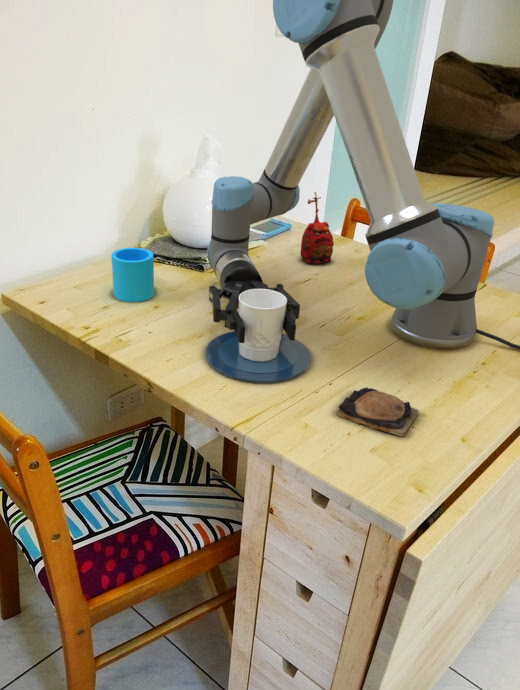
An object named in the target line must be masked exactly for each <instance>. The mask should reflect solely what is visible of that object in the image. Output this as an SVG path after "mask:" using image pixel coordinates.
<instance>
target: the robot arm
mask: <svg viewBox="0 0 520 690" xmlns="http://www.w3.org/2000/svg"><path fill="white" fill-rule="evenodd" d="M393 5H394V0H272V13H273V18H274V22H275V25H276V26H277V28H278V31H279V32H280V34H282V36H284V37H285V38H286V39H288V40H289V41H291V42H293V43H295V44H298V46H299V49H300V53H301V55H302V58H303V60H304V63H305V66H306V67H307V68H310V69H309V71H308V73H307V75H306V77H305V80H304V82H303V84H302V87H301V88H300V90H299V93H298V95H297V97H296V99H295V101H294V104H293V106H292V108H291V110H290V113H289V114H288V117H287V119H286V121H285V123H284V126H283V128H282V130H281V133H280V135H279V137H278V139H277V141H276V143H275V145H274V148H273V150H272V153H271V154H270V156H269V159H268V161H267V163H266V165H265V167H264V169H263V171H262V173H261V175H260V177H259V179H258V180H257V181H255V182H252V181H251V180H250V179H249V178H246V177H243V176H238V175H237V176H236V175H235V176H233V175H230V176H222V177H219V178H217V179H215V180H214V183H213V191H212V198H211V235H210V241H209V243H208V246H207V249H206V254H207V261H208V264H209V266H210V268H211V269H212V271H213V273H214V275H215V277H216V280H217V282H218V283H219V287H217V286H215V285H210V286H208V301H210V303H211V305H212V306H211V307H212V320H213V321H212V322H213V323H215V324H216V323H218V324H219V323H220V322H221V321H223V322H224V323H223V327H224V328H226V329H228V330H229V331H235V333H236V336H237V338H238V340H239V343H244V340H245V326H244V324H243V322H242V319H241V317H240V315H239V313H238V306H239V295H240V294H241V293H242V292H244V291H247V290H251V289H269V290H273V291H277V292H279V293H281V294H283V295H284V296H285V297H286V298H287V305H286V311H285V318H284V324H283V331H284V333H285V335H287V336H288V338H289V340H295V339H296V338H295V337H296V330H297V324H296V322H297V320H299V318H300V310H301V304H300V303H299V302H298V301H297V300H296V299H295V298H294V297H293V296H292V295H291V294H290V293H289V292H288V291H286V290H285V289H284V284H282V283H277V284H276V285H275V286H273V287H269V286H268V284H266V283H264V280H263V278H262V276H261V274H260V271H259V270H258V269H257V267H256V265H255V263H254V262H253V260H252V258H251V257H250V256H249V245H250V237H251V236H250V233H251V232H250V231H251V226H252V225H254V224H257V223H260V222H262V221H265V220H269V219H272V218H275V217H278V216H282V215H285V214H286V213H288V212H290V211H291V210H293V209H294V208H296V206H297V205H298V203H299V201H300V193H301V190H300V187H299V186H300V185H299V184H300V182H301V180H302V178H303V177H304V175H305V173H306V171H307V168H309V165H310V163H311V161H312V160H313V157H314V155H315V154H316V151H317V150H318V148H319V145H320V143H321V141H322V140H323V138H324V137H325V134H326V133H327V130H328V128H329V126H330V124H331V123H332V121H333V119H334V118H335V119H334V120H335V122H336V124H337V128H338V130H339V133H340V136H341V139H342V142H343V145H344V148H345V151H346V153H347V156H348V157H347V158H348V159H349V163H350V166H351V168H352V171H353V174H354V177H355V180H356V183H357V185H358V189H359V191H360V194H361V198H362V200H363V203H364V205H365V209H366V212H367V214H368V217H369V221H370V223H369V226H368V228H367V230H366V232H365V235H364V237H365V239H366V243H367V245H368V249H369V253H368V255H367V258H366V262H365V263H364V277H365V281H366V283H367V286H368V288H369V289H370V291H371V293H372V294H373V295H374V297H376V298H377V299H378V300H379V301H380V302H382V303H383V304H386V305H388V306H390V307H391V308H394V311H393V313H392V315H391V320H390V328H391V330H392V331H393V333H394V334H395V335H396V336H398V337H399V338H400V339H402V340H404V341H406V342H409V343H411V344H413V345H416V346H420V347H422V348H423V347H424V348H429V349H433V350H434V349H435V350H458V349H462V348H466V347H468V346H470V345H471V344H473V342H474V341H475V338H476V334H478V335H480V336H483V337H486V338H488V339H491V340H494V341H496V342H498V343H501V344H503V345H505V346H508V347H509V348H512V349H515V350H519V351H520V345H519V344H515V343H513V342H510V341H508V340H506V339H504V338H501V337H499V336H497V335H494V334H491V333H489V332H486V331H484V330H480V329H478V326H477V325H478V324H477V313H476V312H477V311H476V301H475V300H476V299H475V298H476V294H477V290H478V286H479V283H480V280H481V275H482V272H483V269H484V265H485V261H486V257H487V254H488V250H489V246H490V243H491V239H492V238H493V236H494V234H493V232H494V231H493V230H494V226H495V219H494V217H493V216H492V215H491V213H488V212H486V211H483V210H480V209H477V208H473V207H470V206H469V207H468V206H464V205H458V204H453V203H444V202H443V203H442V202H440V203H438V202H435V203H431V202H429V201H426V199H425V198H424V196H423V191H422V190H421V186H420V182H419V180H418V176H417V173H416V171H415V168H414V165H413V161H412V158H411V156H410V152H409V149H408V147H407V143H406V140H405V137H404V133H403V130H402V128H401V124H400V122H399V118H398V116H397V115H398V114H397V113H396V110H395V107H394V103H393V101H392V98H391V94H390V90H389V88H388V84H387V82H386V79H385V75H384V73H383V70H382V69H383V68H382V66H381V63H380V60H379V58H378V54H377V51H376V48H377V47H378V46H379V43H380V41H381V39H382V37H383V34H384V32H385V31H386V28H387V25H388V23H389V20H390V17H391V14H392V10H393ZM222 298H224V299H227V300H228V302H227V303H226V306H225V308H224V309H222V305H221V299H222Z"/></svg>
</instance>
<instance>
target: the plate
mask: <svg viewBox="0 0 520 690" xmlns="http://www.w3.org/2000/svg"><path fill="white" fill-rule="evenodd" d="M204 354H205V355H204V356H205V361H206V363H207V364H208V366H209V367H210V368H211V369H212V370H214V371H215V372H216V373H218V374H220V375H222V376H224V377H226V378H229V379H231V380H235V381H238V382H243V383H247V384H249V383H250V384H257V385H258V384H262V385H264V384H265V385H269V384H278V383H279V384H280V383H284V382H287V381H291V380H294V379H297V378H298V377H300V376H302V375H303V374H305V372H306V371H307V370H309V368H310V365H311V362H312V361H311V360H312V356H311V353H310V351H309V349H308V348H307V347H306V346H305V345H304V344H303V343H302V342H300V341H299V340H298V339H296V338H295V340H289V338H288V336H287V334H283V333H282V336H281V340H280V345H279V352H278V355H277V356H276V358H274V359H272V360H270V361H263V362H260V361H252V360H249V359H246V358H244V357H243V356H242V355H240V353H239V340H238V338H237V336H236V333H235V331H234V330H232V331H229V332H225V333H222V334H220V335H218V336H216V337H215V338H213V339H212V340H211V341H209V342H208V344H207V345H206V347H205V352H204Z"/></svg>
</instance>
